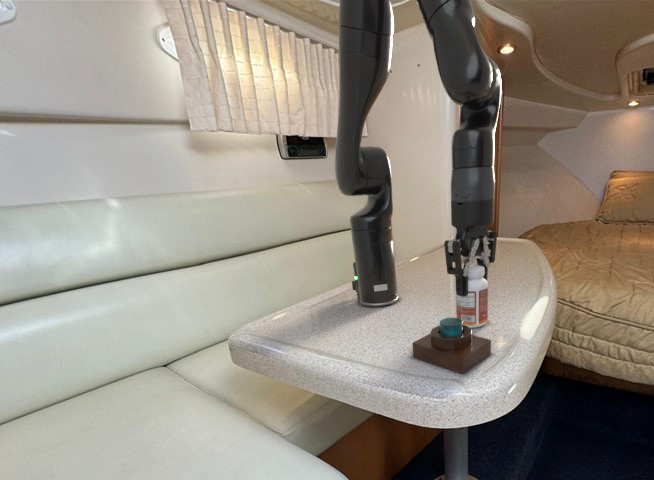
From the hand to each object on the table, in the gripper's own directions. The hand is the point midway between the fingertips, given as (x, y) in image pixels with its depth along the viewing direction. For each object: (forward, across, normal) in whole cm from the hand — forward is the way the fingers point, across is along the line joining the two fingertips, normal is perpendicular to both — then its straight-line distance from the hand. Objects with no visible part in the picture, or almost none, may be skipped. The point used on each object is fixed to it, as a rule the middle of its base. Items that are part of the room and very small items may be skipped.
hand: (472, 290), depth 70 cm
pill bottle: (+7, 0, 0) cm, 7 cm away
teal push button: (+3, +14, +6) cm, 16 cm away
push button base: (+7, +14, +6) cm, 17 cm away
